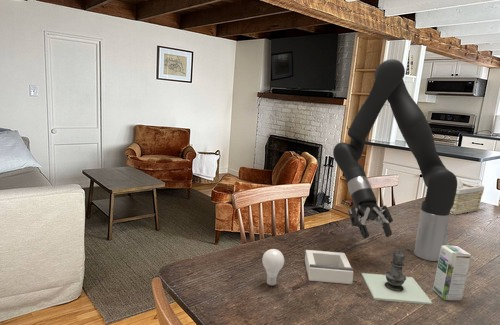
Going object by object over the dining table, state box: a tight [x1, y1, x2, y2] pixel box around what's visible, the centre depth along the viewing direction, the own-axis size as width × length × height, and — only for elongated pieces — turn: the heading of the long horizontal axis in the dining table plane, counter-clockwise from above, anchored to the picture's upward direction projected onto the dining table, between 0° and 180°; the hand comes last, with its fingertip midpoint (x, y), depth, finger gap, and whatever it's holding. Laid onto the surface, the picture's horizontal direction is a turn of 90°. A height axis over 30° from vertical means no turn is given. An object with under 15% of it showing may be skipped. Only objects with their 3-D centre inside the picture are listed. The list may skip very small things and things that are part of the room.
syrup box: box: [432, 244, 472, 301], centre depth 101 cm, size 6×6×14 cm
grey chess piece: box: [384, 249, 407, 292], centre depth 103 cm, size 6×6×12 cm
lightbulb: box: [261, 248, 285, 286], centre depth 101 cm, size 6×6×11 cm
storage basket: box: [450, 178, 485, 216], centre depth 190 cm, size 24×16×15 cm
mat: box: [361, 272, 433, 306], centre depth 104 cm, size 16×14×1 cm
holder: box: [304, 249, 354, 285], centre depth 111 cm, size 13×13×5 cm
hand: (378, 236), depth 112 cm, fingers open, 8 cm apart
